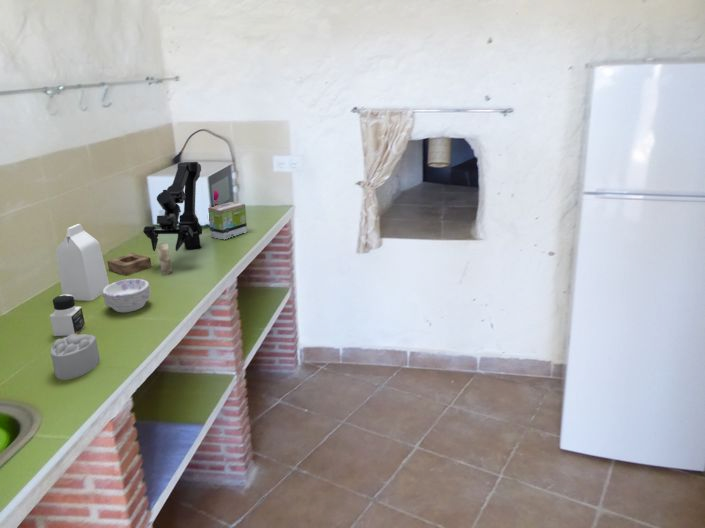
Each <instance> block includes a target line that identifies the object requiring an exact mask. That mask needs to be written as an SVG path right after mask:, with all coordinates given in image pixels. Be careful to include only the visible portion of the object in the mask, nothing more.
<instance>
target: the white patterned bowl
mask: <svg viewBox="0 0 705 528" xmlns="http://www.w3.org/2000/svg"><path fill="white" fill-rule="evenodd" d="M102 295H103V300H104V305H105V306H106V307H109V308H112V310H114V311H115V312H117V313H130V312H135V311H138V310H140V309H142V308H143V307H144V306H145V305H146V302H147V301H149V299H150V298H151V297H152V293H151V289H150V283H149V281H147V280H146V279H142V278H128V279H121V280H118V281H114V282H112V283H109V285H108V286H106V287H105V288H104V289H103V294H102Z"/></svg>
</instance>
